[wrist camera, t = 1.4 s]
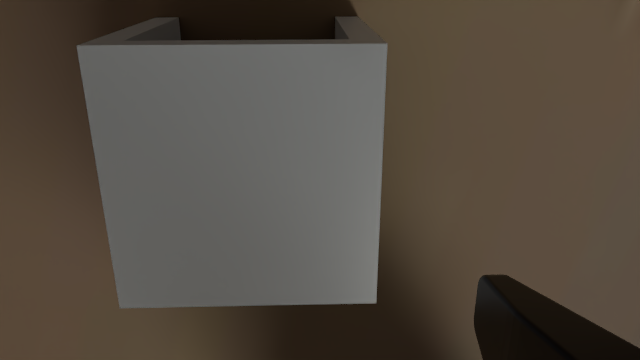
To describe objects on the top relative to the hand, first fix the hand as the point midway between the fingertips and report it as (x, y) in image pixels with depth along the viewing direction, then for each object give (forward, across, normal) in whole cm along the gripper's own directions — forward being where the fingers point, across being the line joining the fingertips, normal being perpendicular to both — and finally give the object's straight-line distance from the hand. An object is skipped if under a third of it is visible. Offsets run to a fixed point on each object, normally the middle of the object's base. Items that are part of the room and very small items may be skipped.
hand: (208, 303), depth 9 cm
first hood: (+12, 0, 0) cm, 12 cm away
